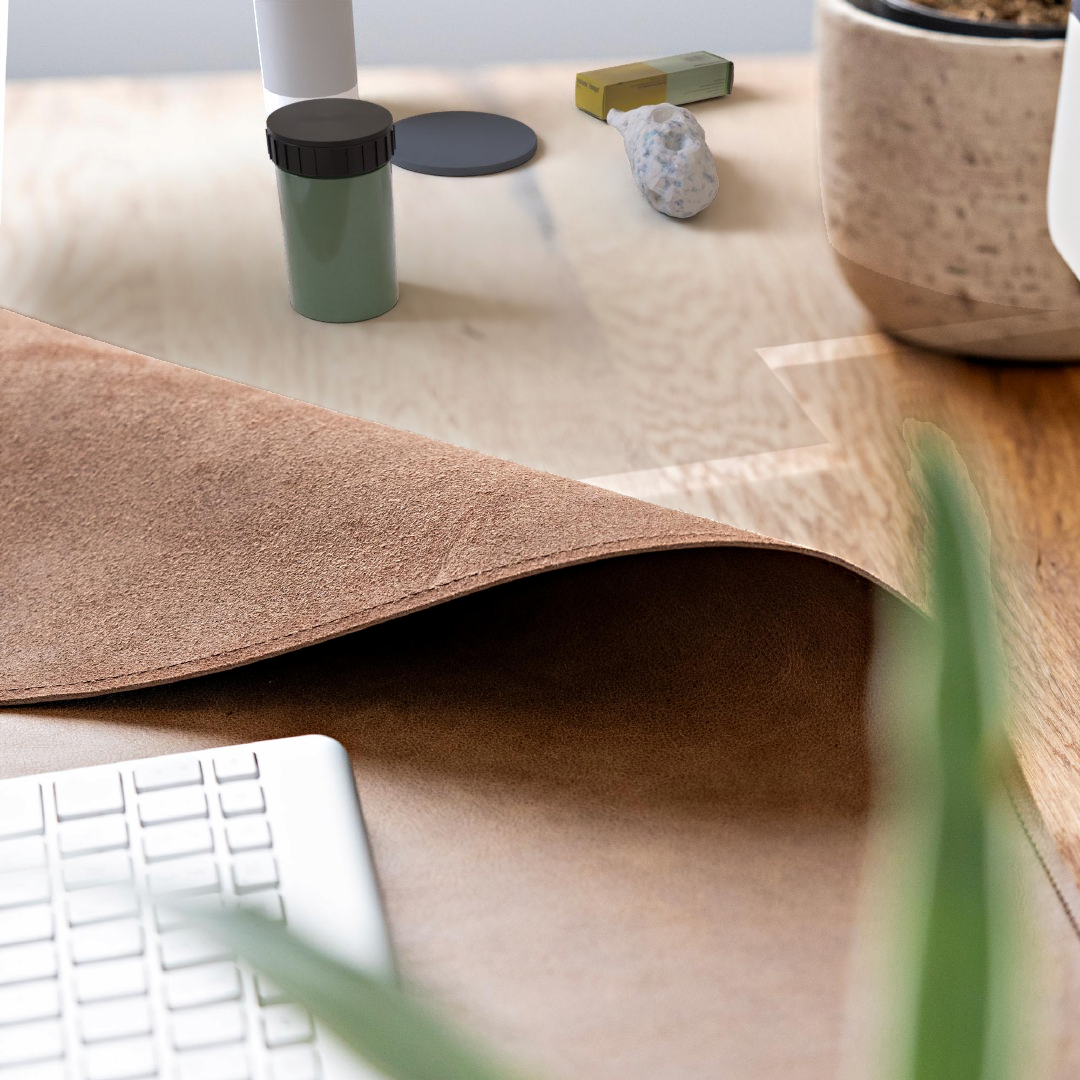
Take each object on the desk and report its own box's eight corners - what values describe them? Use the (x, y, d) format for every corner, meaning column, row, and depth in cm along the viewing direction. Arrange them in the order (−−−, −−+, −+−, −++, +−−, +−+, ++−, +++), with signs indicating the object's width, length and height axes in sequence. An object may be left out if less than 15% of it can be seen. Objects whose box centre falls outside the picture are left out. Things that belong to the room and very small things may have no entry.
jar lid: (275, 182, 63) (271, 146, 62) (263, 136, 68) (259, 102, 67) (405, 171, 65) (404, 136, 63) (384, 126, 70) (382, 93, 68)
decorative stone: (750, 223, 80) (760, 143, 77) (646, 230, 79) (651, 150, 76) (688, 146, 90) (695, 73, 87) (596, 152, 89) (599, 78, 86)
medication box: (732, 97, 99) (701, 82, 101) (736, 61, 97) (704, 47, 100) (601, 123, 94) (572, 106, 96) (603, 85, 92) (573, 70, 95)
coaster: (394, 182, 84) (393, 173, 84) (367, 125, 93) (367, 116, 92) (555, 168, 87) (555, 159, 86) (515, 113, 95) (515, 105, 95)
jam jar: (296, 328, 68) (277, 152, 63) (284, 279, 73) (265, 111, 67) (408, 316, 70) (398, 142, 64) (389, 268, 74) (378, 102, 68)
